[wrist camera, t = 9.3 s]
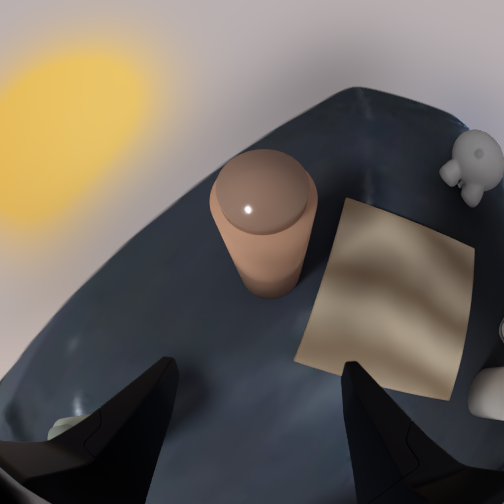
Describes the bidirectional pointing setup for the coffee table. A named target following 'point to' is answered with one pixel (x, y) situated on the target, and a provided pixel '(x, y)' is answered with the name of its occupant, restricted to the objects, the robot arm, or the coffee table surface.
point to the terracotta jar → (265, 218)
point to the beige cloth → (391, 303)
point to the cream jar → (487, 394)
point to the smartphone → (501, 330)
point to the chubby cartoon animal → (474, 165)
